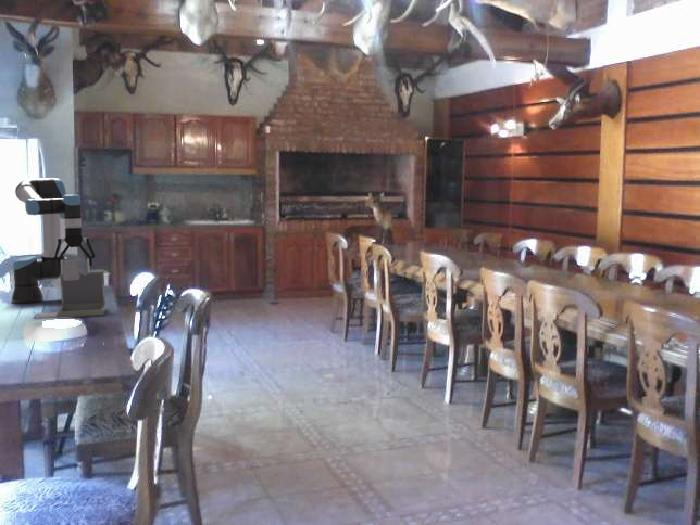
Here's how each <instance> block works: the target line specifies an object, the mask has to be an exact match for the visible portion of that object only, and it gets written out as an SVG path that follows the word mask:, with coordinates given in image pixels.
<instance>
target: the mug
mask: <svg viewBox="0 0 700 525" xmlns="http://www.w3.org/2000/svg"><path fill="white" fill-rule="evenodd" d="M79 262H81V263H82V264H83V270H81V269H79V267H80V265H79ZM79 273H81V274H83V275H84V276H86V275H87V273H88V266H87V260H86V257H85V253H82V254H81V256H80V258H74V257H69V258H68V257H67V259H63V278H64V280H65V281H72V280H79V277H80V274H79Z"/></svg>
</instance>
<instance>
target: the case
mask: <svg viewBox="0 0 700 525" xmlns="http://www.w3.org/2000/svg"><path fill="white" fill-rule="evenodd" d="M79 274H80V277H79V280H72V281H65V280H64V278H63V274H61V273H60V279H59V280H60V292H61V294H60V295H61V297H60V298H61V306H60V308H59V310H57V312H58V316H57V318H58V317H75V318H87V317H88V318H89V317H91V318H92V317H104V314H105V311H106V296H105V279H104V278H105V276H104V270H98V271H97V270H96V271H91V270H90V273H87V275H86V276H84V275H83V274H81V273H79Z"/></svg>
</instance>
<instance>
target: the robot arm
mask: <svg viewBox="0 0 700 525" xmlns="http://www.w3.org/2000/svg"><path fill="white" fill-rule="evenodd" d="M64 184H65V183H64V182H63V180H62V179H61V178H55V177H47V178H46V177H45V178H43V177H42V178H27V179H24V180H22V181H20V183H18V184H17V186H16V187H15V190H14V193H15V196H16V198H17V199H18V200H19V202H20V201H21V202H22V203H24V205H25V211H26V214H27V215H28V216H41V215H42V236H43V239H42V240H43V252H42V253H41V254H40V258H38V257H37V256H36V255H33V256H24V257H20V258H16V259H15V260H13V262H12V263H13V264H12V267H13V268H12V270H13V283H14V289H13V292H12V296H11V303H12V304H33V303H38V302H43V301H44V295H43V294H42V293H43V292H42V290H41V288H40V286H39V282H40V281H49V280H50V281H51V280H52V281H53V280H60V273H61V274H63V259H68V257H67V256H65V254H66V253H67V251H68V249H69V247H70V248H80V249H81V251H82V252H83V254H84V255H86V257H87V260H86V262H87V266H88V273H90V272H91V267H92V265H93V259H95V258H96V254H95V251H94V249H93V247H92V245H91V243H90V237H83V228H82V213H81V212H82V207H81V206H82V205H81V202H82V201H81V197H80V196H81V195H79V194H67V192H66V187H65V185H64ZM61 215H63V218H64V220H63V221H64V227H65V228H64V238H61V236H62V235H61V217H60V216H61ZM83 241H84V243H86V245H87V247H88V249H89V252H90V253H89V252H88V251H87V249H86V248H85V247H84V245H83V244H82V243H83ZM64 242H65V243H66V246H65V247H64V249H63V251H62V244H64ZM90 266H91V267H90Z"/></svg>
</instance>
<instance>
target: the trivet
mask: <svg viewBox="0 0 700 525" xmlns="http://www.w3.org/2000/svg"><path fill="white" fill-rule="evenodd" d="M50 317H54V318H58V311H57V312H39V313H36V314H35V315H34V316H33V319H50Z"/></svg>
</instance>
